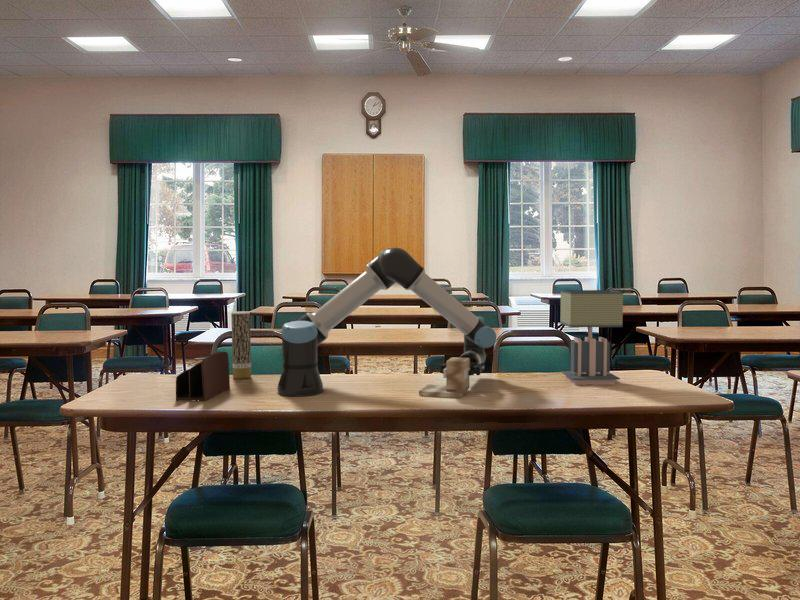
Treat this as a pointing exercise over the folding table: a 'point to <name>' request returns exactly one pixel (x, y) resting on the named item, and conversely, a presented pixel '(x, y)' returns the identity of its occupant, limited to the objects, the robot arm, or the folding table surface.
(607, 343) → the desk lamp
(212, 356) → the letter holder
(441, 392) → the board
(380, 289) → the robot arm
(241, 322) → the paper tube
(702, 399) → the folding table surface
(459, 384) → the block
